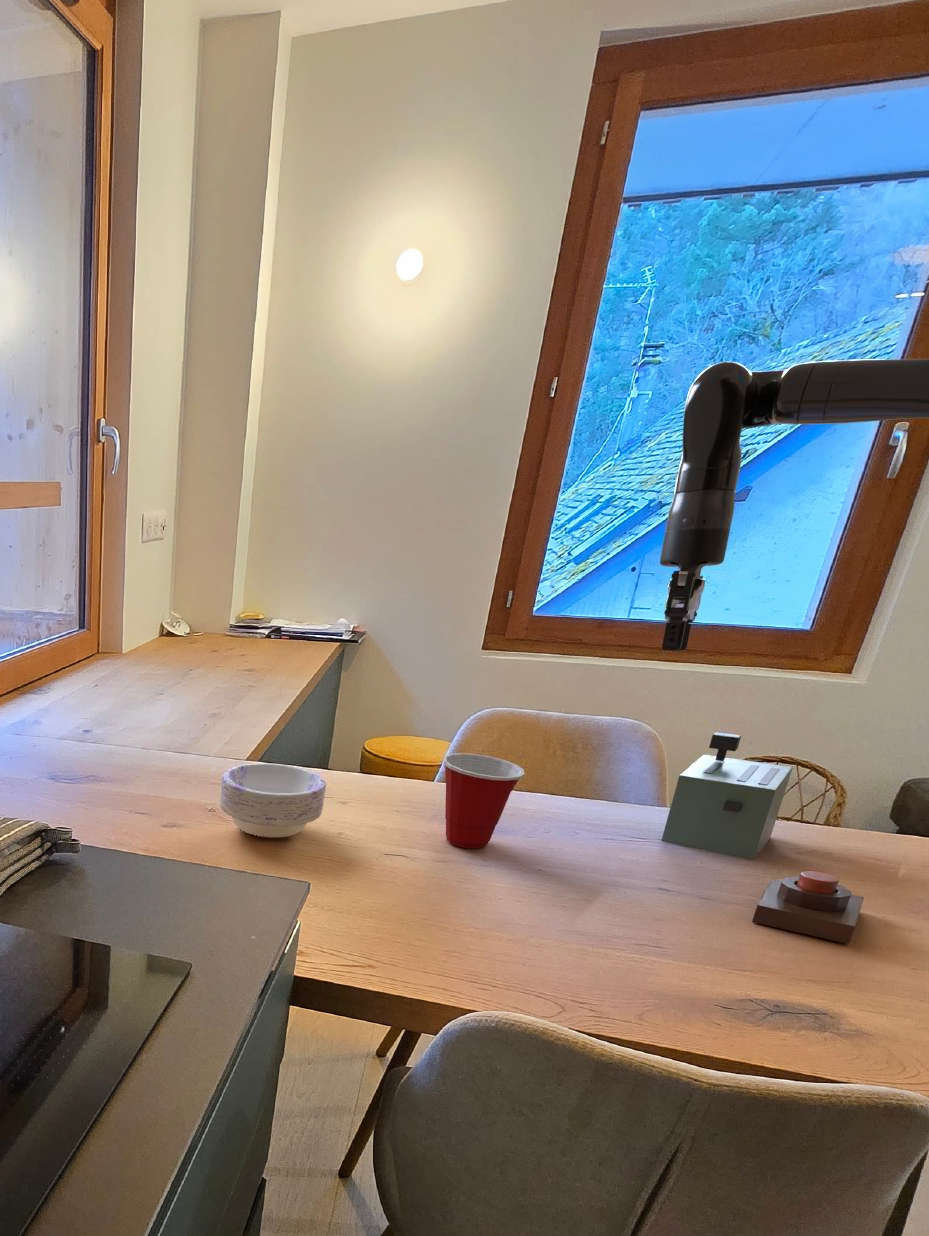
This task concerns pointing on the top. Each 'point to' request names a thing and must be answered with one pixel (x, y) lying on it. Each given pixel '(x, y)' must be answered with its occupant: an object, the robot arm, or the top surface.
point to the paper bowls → (271, 798)
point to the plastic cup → (476, 796)
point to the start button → (818, 882)
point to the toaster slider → (724, 744)
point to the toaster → (726, 806)
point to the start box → (809, 910)
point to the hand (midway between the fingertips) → (674, 650)
